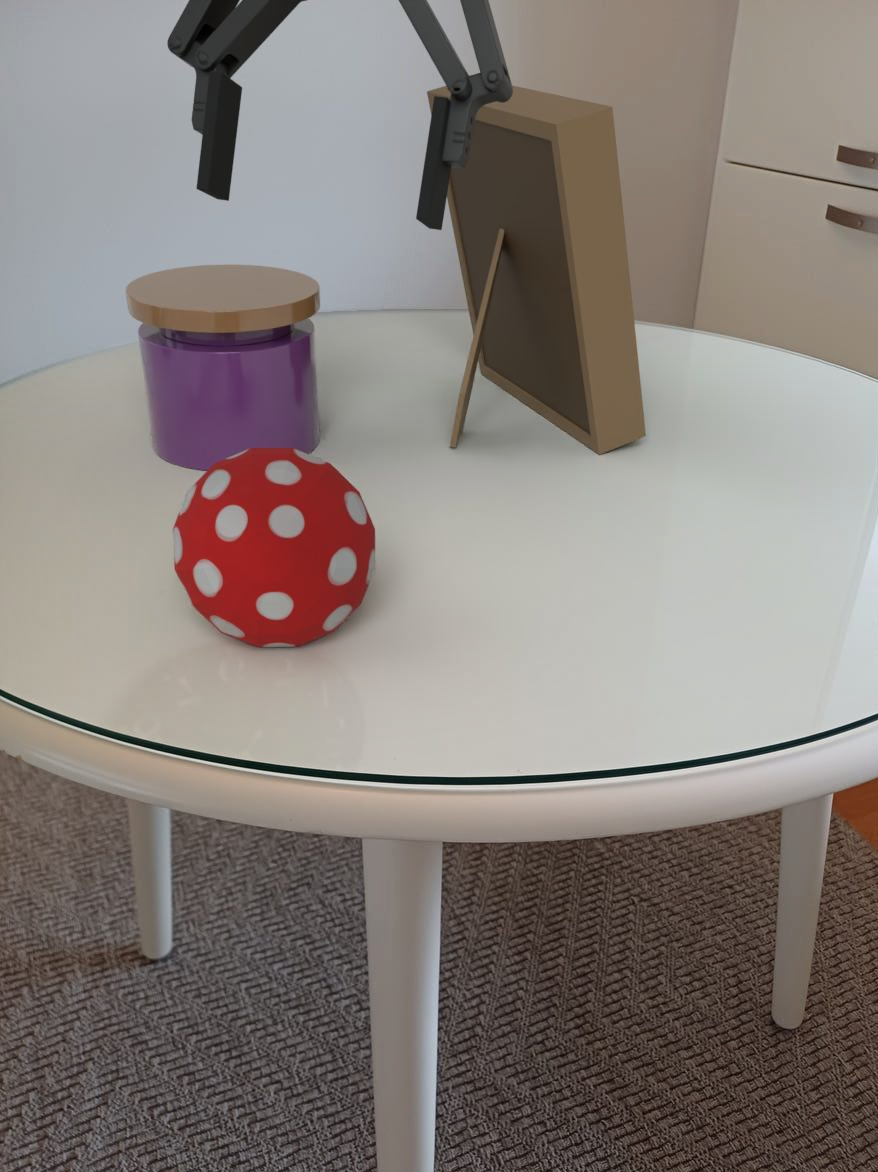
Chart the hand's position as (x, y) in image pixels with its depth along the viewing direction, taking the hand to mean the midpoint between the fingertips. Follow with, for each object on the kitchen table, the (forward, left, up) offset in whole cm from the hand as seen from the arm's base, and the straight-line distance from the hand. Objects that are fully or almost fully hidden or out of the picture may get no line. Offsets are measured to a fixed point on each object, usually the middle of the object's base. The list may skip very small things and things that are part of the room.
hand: (318, 210), depth 66 cm
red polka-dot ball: (+2, -11, -21) cm, 23 cm away
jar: (-12, +13, -20) cm, 27 cm away
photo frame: (+7, +25, -21) cm, 33 cm away
